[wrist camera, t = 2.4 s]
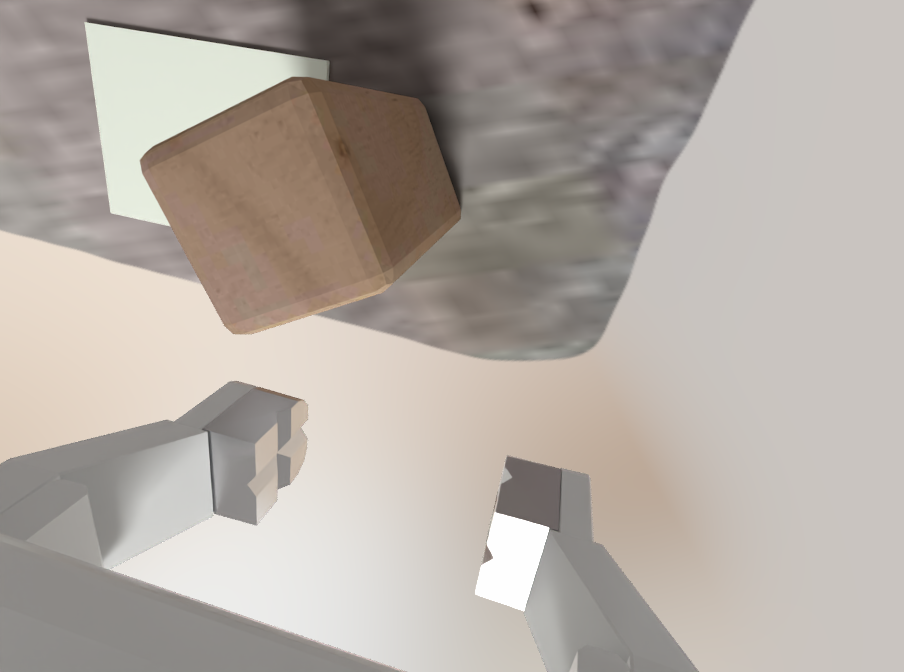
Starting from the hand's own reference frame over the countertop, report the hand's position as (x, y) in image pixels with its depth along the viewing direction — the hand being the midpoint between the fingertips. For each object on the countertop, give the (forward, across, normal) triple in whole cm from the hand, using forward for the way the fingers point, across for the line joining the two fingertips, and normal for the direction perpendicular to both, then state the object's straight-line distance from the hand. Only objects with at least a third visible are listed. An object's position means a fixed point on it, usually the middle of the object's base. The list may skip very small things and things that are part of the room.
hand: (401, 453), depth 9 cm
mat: (+33, +29, 0) cm, 44 cm away
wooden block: (+33, +12, 0) cm, 35 cm away
